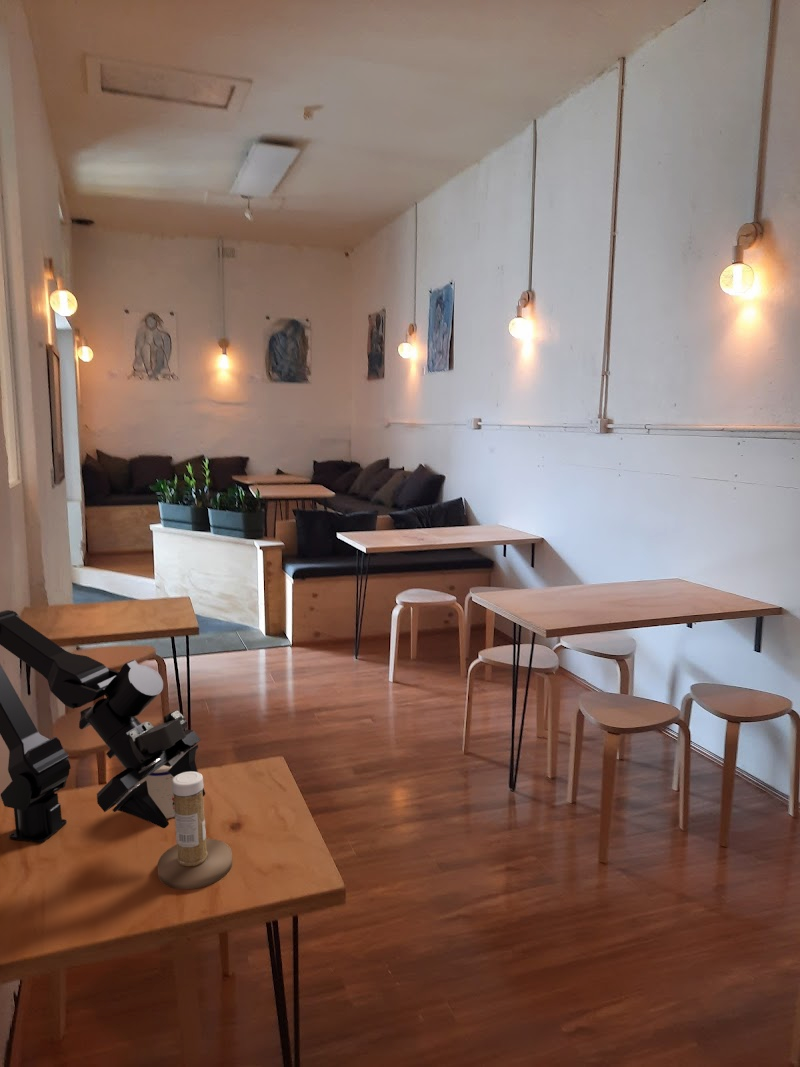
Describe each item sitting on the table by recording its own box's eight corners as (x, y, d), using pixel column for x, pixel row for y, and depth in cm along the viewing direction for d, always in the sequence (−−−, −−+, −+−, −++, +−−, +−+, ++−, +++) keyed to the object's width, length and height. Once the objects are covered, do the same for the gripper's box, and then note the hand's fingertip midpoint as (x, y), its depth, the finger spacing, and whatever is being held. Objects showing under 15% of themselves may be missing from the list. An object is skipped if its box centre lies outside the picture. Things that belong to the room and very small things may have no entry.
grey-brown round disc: (144, 884, 112) (143, 875, 112) (181, 843, 123) (180, 835, 123) (212, 893, 110) (211, 884, 109) (243, 851, 120) (243, 842, 120)
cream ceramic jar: (182, 821, 129) (178, 757, 128) (131, 820, 130) (126, 756, 128) (206, 787, 141) (202, 728, 139) (158, 786, 142) (155, 727, 140)
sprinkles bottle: (213, 854, 117) (209, 773, 115) (195, 870, 113) (189, 786, 111) (189, 848, 119) (184, 768, 117) (170, 864, 115) (164, 781, 112)
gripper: (108, 725, 106) (178, 813, 104) (188, 681, 123) (249, 755, 121) (67, 769, 110) (134, 854, 108) (150, 720, 127) (209, 793, 125)
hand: (185, 810), depth 115 cm, fingers open, 9 cm apart
